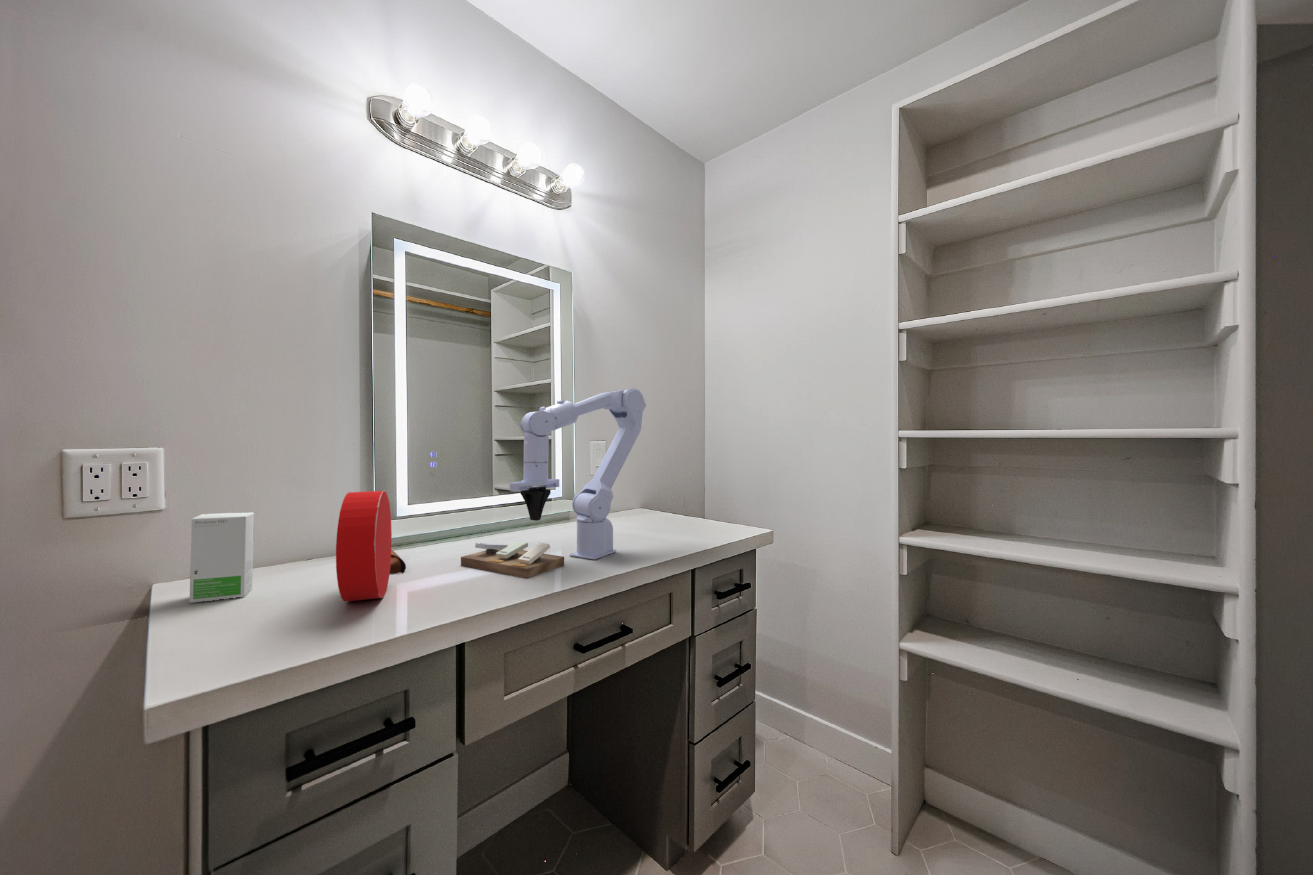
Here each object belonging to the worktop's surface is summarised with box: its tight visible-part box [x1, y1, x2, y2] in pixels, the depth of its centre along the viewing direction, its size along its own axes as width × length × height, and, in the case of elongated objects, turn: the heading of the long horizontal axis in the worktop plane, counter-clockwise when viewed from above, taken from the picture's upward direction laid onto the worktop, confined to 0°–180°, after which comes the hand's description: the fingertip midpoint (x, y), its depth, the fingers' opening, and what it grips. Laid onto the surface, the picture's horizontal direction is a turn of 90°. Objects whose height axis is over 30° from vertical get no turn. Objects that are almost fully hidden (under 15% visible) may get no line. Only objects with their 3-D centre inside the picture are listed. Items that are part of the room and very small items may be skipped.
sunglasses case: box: [389, 549, 407, 575], centre depth 117 cm, size 18×7×7 cm
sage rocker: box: [496, 540, 529, 559], centre depth 118 cm, size 7×3×1 cm, turn 150°
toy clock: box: [335, 490, 392, 603], centre depth 95 cm, size 20×6×20 cm, turn 21°
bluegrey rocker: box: [474, 542, 508, 550], centre depth 121 cm, size 7×3×1 cm, turn 150°
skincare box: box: [189, 512, 255, 604], centre depth 96 cm, size 8×7×16 cm
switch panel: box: [460, 549, 565, 579], centre depth 118 cm, size 12×21×3 cm, turn 60°
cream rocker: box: [518, 542, 551, 565], centre depth 114 cm, size 7×3×1 cm, turn 150°
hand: (535, 519), depth 119 cm, fingers closed
